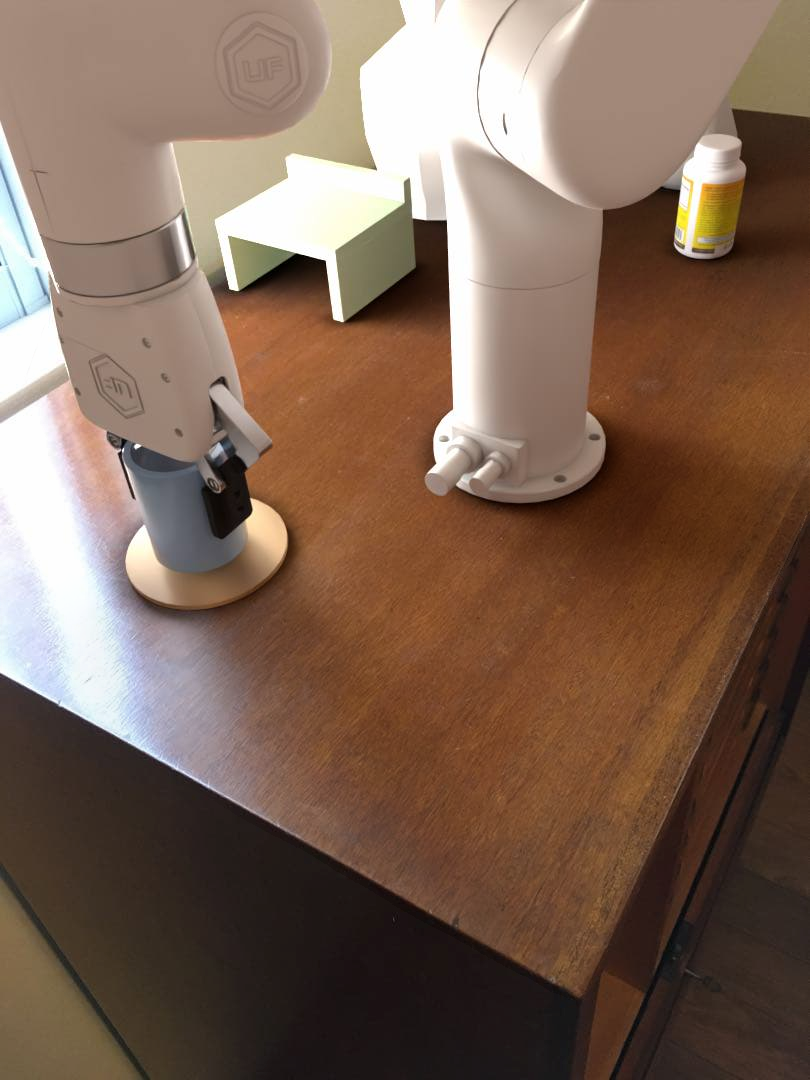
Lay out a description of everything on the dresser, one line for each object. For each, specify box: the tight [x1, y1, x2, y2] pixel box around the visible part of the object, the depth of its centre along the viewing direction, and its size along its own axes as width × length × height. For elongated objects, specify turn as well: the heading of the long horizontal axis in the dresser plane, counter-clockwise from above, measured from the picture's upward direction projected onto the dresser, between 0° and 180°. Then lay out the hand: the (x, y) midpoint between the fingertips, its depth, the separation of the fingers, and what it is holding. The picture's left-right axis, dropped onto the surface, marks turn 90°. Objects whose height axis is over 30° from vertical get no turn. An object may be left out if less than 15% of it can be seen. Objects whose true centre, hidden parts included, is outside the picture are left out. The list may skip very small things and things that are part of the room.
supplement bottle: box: [673, 134, 747, 260], centre depth 88 cm, size 6×6×10 cm
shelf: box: [214, 153, 417, 323], centre depth 89 cm, size 12×14×9 cm
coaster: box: [124, 497, 289, 611], centre depth 63 cm, size 11×11×1 cm
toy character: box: [661, 95, 738, 191], centre depth 99 cm, size 10×10×12 cm
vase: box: [359, 0, 447, 221], centre depth 94 cm, size 14×14×25 cm
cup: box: [122, 440, 248, 573], centre depth 60 cm, size 6×6×8 cm
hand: (192, 505), depth 61 cm, fingers closed on cup, 6 cm apart
